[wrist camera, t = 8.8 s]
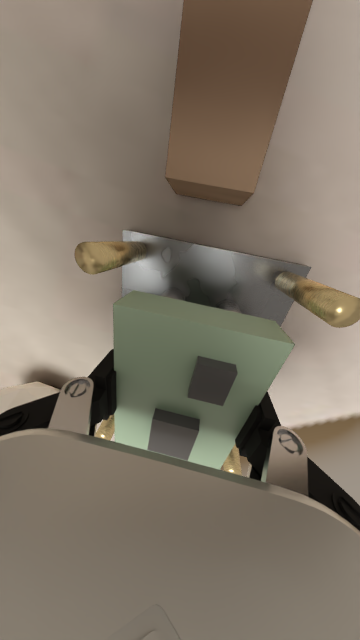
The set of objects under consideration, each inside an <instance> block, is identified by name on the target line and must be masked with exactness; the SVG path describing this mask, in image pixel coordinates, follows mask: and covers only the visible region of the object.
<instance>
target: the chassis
mask: <svg viewBox="0 0 360 640" xmlns="http://www.w3.org/2000/svg"><path fill="white" fill-rule="evenodd" d="M75 259H76V262H77V264H78V266H79V267H80V268H81V269H82V270H83V271H84V272H86V273H88V274H98V273H101V272H104V271H107V270H111V269H114V268H117V267H121V266H122V298H123V297H124V296H125V295H127V294H128V293H130V292H131V291H133V290H136V291H140V292H145V293H150V294H154V295H159V296H163V297H168V298H173V299H177V300H182V301H186V302H191V303H195V304H200V305H205V306H209V307H214V308H218V309H223V310H228V311H232V312H237V313H241V314H246V315H251V316H255V317H260V318H264V319H269V320H273V321H276V323H277V324H278V325H279V326H281V324H282V322H283V320H284V319H285V317H286V315H287V313H288V311H289V309H290V307H291V305H292V303H293V301H294V300H295V301H296V302H297V303H299V304H300V305H302V306H303V307H305V308H306V309H308V310H309V311H310V312H312V313H313V314H315V315H316V316H318V317H319V318H321V319H322V320H324V321H325V322H326V323H328V324H329V325H331V326H333V327H339V328H340V327H347V326H350V325H352V324H354V323H356V322H357V321H358V320H359V319H360V299H359V298H357V297H354V296H352V295H349V294H346V293H344V292H341V291H339V290H336V289H333V288H331V287H328V286H325V285H323V284H320V283H318V282H315V281H312V280H310V279H307V278H306V276H307V274H308V272H309V271H310V269H311V267H309V266H305V265H300V264H295V263H290V262H285V261H280V260H275V259H270V258H265V257H260V256H255V255H250V254H245V253H240V252H235V251H230V250H225V249H220V248H215V247H210V246H205V245H200V244H195V243H190V242H184V241H179V240H174V239H169V238H164V237H159V236H154V235H149V234H144V233H139V232H134V231H129V230H123V241H118V242H82V243H80V244H78V246H77V247H76V249H75ZM114 432H115V413H114V415H113V416H112V415H110V417H109V418H108V420H103V422H102V423H101V425H100V427H99V429H98V430H97V432H96V436H95V437H98V438H102V439H106V440H111V438H112V436H113V434H114ZM224 471H226V472H229V473H233V474H237V475H240V476H242V473H241V466H240V459H239V452H238V448H237V447H236V444H235V445H234V447H233V448H232V450H231V452H230V453H229V455H228V456H227V458H226V460H225V461H224Z"/></svg>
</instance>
